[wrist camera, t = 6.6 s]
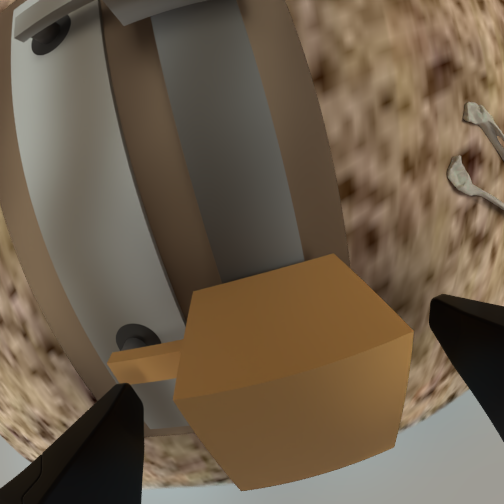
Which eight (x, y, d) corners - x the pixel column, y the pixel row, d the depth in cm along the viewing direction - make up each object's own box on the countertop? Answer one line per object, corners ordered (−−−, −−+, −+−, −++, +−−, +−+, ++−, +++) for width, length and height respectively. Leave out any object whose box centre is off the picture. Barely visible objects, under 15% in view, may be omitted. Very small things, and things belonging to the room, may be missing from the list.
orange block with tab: (323, 244, 9) (413, 331, 4) (337, 344, 10) (394, 447, 5) (100, 302, 9) (31, 406, 4) (147, 388, 10) (123, 493, 5)
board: (241, -70, 6) (253, -148, 1) (350, 376, 13) (392, 458, 8) (1, 29, 6) (-65, 3, 1) (132, 421, 13) (113, 500, 8)
